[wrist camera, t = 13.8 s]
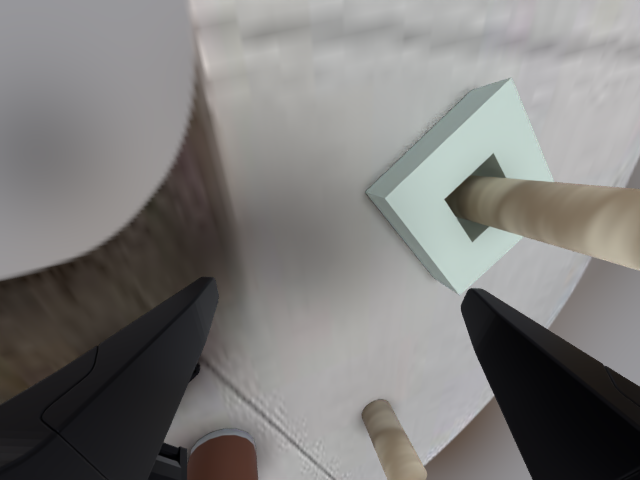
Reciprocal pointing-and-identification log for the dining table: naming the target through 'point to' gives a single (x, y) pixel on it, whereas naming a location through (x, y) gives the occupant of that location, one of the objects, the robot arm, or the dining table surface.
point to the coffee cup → (223, 457)
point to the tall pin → (556, 214)
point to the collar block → (450, 171)
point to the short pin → (392, 443)
